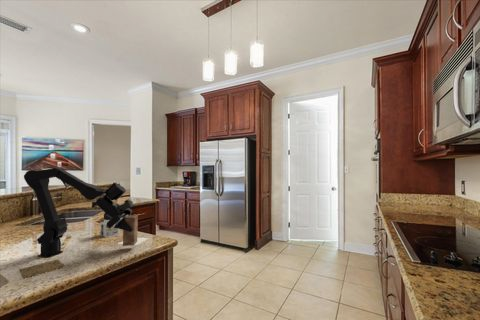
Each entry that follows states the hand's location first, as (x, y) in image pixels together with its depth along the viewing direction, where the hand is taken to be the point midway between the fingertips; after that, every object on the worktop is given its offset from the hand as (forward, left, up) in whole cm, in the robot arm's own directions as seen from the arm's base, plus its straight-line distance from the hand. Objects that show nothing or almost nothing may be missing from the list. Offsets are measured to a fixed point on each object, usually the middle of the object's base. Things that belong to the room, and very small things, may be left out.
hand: (133, 229), depth 106 cm
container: (+18, +28, -10) cm, 35 cm away
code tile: (+10, +7, -9) cm, 16 cm away
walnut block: (0, +1, -7) cm, 7 cm away
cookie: (-24, +22, -10) cm, 34 cm away
